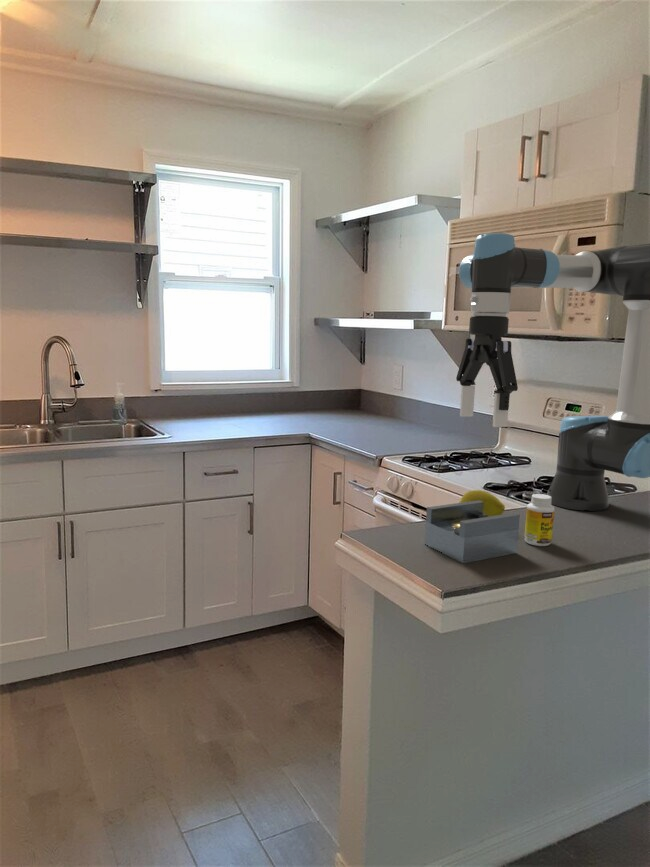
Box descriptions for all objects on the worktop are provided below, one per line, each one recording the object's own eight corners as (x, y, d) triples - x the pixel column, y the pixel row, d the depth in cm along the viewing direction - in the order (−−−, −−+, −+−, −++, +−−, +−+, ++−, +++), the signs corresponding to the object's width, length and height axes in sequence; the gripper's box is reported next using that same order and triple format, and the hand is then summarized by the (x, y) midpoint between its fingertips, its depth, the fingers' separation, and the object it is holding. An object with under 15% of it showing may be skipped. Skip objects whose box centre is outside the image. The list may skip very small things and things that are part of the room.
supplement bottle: (539, 548, 140) (543, 500, 138) (518, 541, 144) (522, 494, 142) (557, 544, 143) (561, 497, 141) (535, 537, 147) (539, 491, 146)
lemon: (449, 522, 156) (451, 489, 155) (468, 516, 161) (471, 484, 160) (489, 534, 148) (492, 499, 147) (508, 527, 154) (511, 493, 152)
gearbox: (476, 535, 147) (479, 500, 145) (516, 553, 136) (519, 514, 135) (424, 544, 140) (426, 507, 139) (462, 563, 130) (465, 523, 128)
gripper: (444, 314, 144) (438, 412, 148) (505, 314, 121) (497, 432, 124) (475, 315, 146) (469, 412, 150) (542, 315, 123) (533, 431, 126)
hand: (482, 421), depth 137 cm, fingers open, 13 cm apart
